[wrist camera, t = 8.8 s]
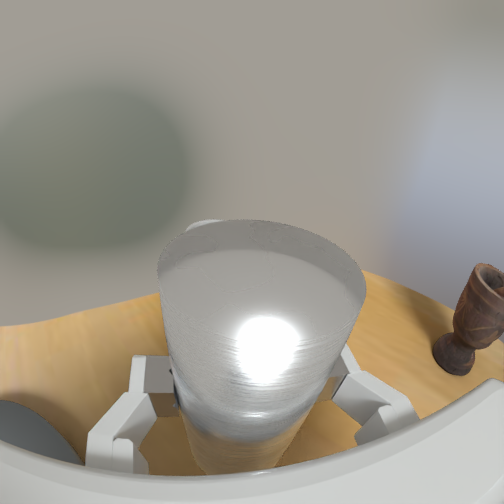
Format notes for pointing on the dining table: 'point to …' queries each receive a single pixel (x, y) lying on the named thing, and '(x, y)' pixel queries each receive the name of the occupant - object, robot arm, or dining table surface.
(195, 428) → the clear drinking glass
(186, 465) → the dining table surface
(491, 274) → the mortar and pestle
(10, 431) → the disc
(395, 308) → the dining table surface
